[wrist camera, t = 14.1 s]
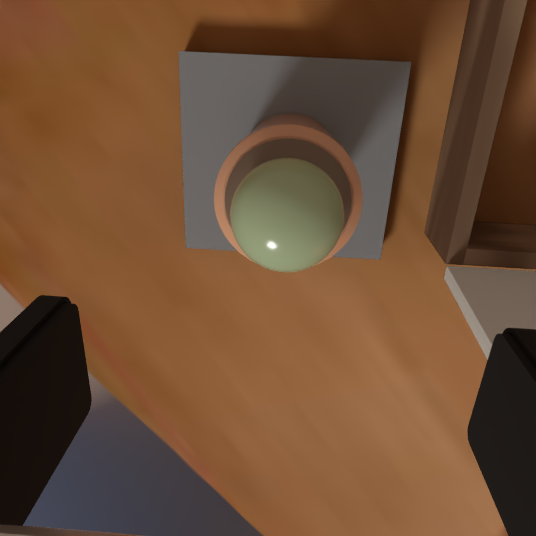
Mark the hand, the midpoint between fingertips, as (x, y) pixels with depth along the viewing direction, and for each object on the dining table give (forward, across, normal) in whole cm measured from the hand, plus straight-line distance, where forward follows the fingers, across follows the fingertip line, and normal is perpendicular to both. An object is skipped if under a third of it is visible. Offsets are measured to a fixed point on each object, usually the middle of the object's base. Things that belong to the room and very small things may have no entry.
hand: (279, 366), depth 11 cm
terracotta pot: (+20, 0, 0) cm, 20 cm away
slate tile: (+22, 0, 0) cm, 22 cm away
